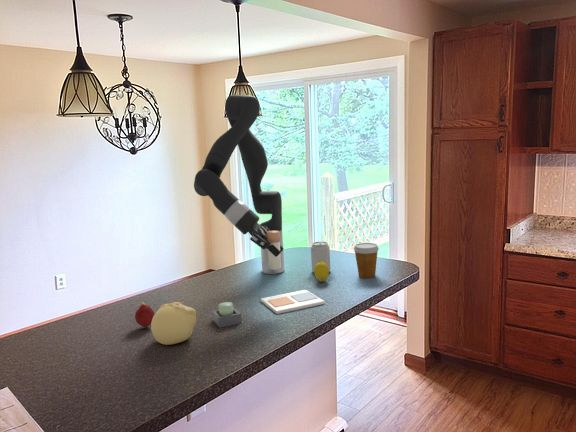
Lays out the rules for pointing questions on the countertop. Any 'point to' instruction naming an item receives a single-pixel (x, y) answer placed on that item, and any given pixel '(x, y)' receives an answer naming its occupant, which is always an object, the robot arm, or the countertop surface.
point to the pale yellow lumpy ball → (173, 323)
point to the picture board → (291, 301)
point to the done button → (225, 309)
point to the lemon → (321, 271)
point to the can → (320, 254)
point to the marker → (275, 240)
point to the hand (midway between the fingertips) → (280, 252)
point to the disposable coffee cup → (366, 259)
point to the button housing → (227, 318)
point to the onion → (144, 315)
